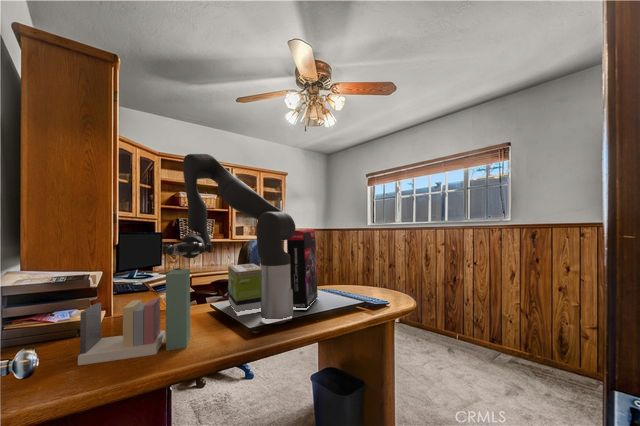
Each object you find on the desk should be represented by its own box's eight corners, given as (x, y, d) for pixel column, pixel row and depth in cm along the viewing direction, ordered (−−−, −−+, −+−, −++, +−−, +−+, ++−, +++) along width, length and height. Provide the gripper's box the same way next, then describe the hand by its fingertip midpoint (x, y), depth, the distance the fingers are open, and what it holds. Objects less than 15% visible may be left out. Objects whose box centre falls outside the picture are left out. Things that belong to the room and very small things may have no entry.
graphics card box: (307, 312, 95) (305, 230, 96) (287, 311, 96) (285, 230, 97) (318, 298, 112) (316, 228, 113) (300, 298, 113) (299, 229, 114)
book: (190, 336, 76) (189, 269, 77) (186, 347, 70) (186, 273, 70) (171, 339, 75) (171, 270, 76) (166, 350, 68) (165, 274, 69)
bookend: (100, 339, 71) (101, 302, 71) (85, 353, 63) (85, 312, 64) (96, 340, 71) (96, 303, 71) (80, 354, 63) (80, 312, 63)
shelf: (165, 338, 76) (165, 296, 76) (156, 354, 66) (156, 306, 67) (97, 346, 71) (98, 302, 72) (77, 365, 62) (78, 313, 62)
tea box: (227, 305, 105) (227, 265, 106) (255, 301, 110) (254, 262, 110) (236, 317, 92) (235, 270, 92) (266, 312, 96) (266, 268, 97)
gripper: (169, 236, 99) (158, 238, 84) (213, 235, 103) (210, 237, 88) (169, 257, 99) (158, 264, 83) (213, 256, 103) (210, 262, 88)
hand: (185, 250), depth 86 cm, fingers open, 8 cm apart
